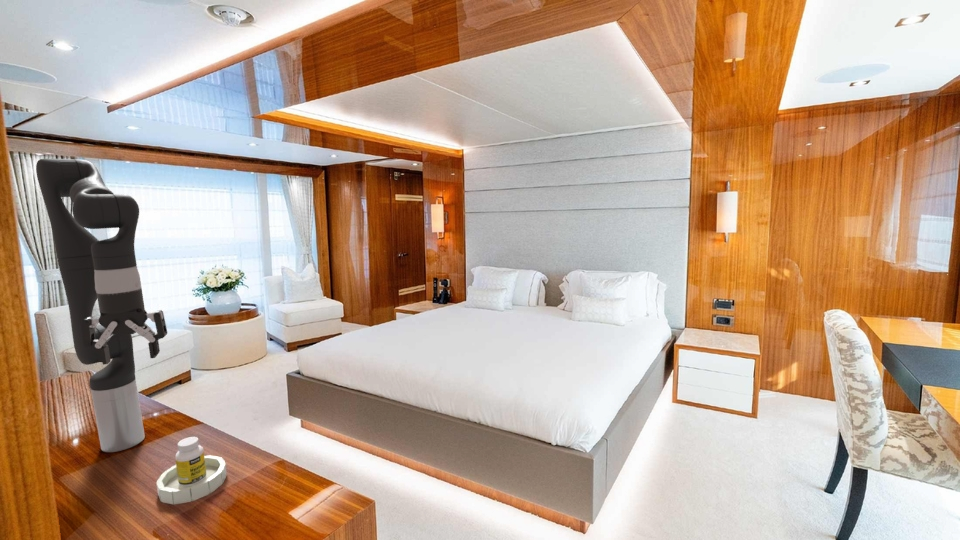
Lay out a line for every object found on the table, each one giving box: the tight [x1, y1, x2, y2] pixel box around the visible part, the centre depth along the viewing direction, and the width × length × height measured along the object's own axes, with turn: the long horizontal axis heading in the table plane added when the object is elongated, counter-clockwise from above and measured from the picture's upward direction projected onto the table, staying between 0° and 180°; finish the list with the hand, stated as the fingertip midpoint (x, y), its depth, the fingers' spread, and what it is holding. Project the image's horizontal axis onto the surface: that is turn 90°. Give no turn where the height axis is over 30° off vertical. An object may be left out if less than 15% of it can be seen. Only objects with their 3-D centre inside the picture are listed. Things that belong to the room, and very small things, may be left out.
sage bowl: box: [155, 455, 228, 505], centre depth 100 cm, size 13×13×3 cm
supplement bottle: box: [174, 436, 206, 487], centre depth 100 cm, size 5×5×10 cm
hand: (130, 360), depth 96 cm, fingers open, 8 cm apart
